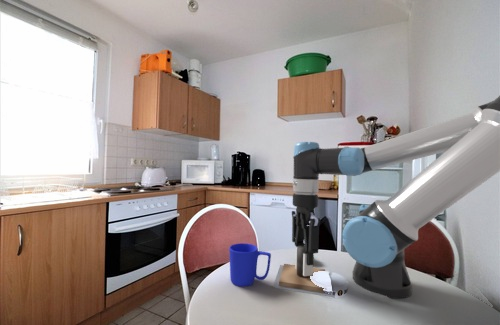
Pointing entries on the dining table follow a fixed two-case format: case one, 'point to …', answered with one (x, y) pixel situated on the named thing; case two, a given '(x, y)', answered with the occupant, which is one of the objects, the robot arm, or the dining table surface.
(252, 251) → the mug
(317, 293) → the mat
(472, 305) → the dining table surface
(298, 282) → the lid
